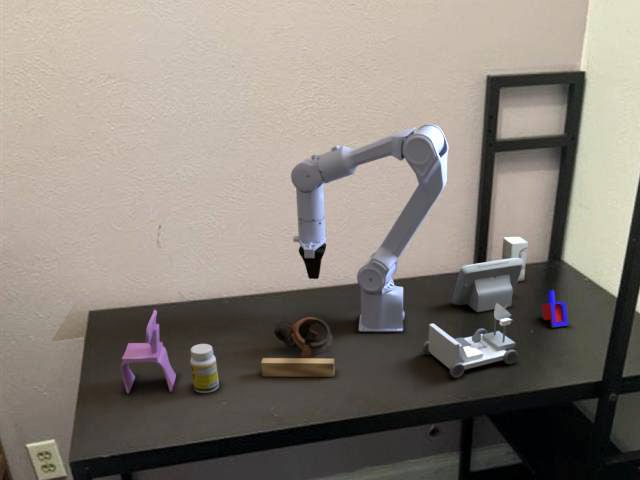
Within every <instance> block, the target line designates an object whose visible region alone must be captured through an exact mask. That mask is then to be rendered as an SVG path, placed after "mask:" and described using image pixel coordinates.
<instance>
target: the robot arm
mask: <svg viewBox="0 0 640 480" xmlns="http://www.w3.org/2000/svg"><path fill="white" fill-rule="evenodd" d="M417 128H418V126H415V127H410V128H407V129H403V130H399V131H396V132H394V133H392V134H389V135H387V136H384V137H381V138H379V139H376V140H373V141H372V142H369V143H366V144H364V145H362V146H359V147H357V148H354V149H353V148H350V147H348V146H346V145H343V146H340V145H339V144H336V145H334V146H332V147H331V148H330V149H331V150H328V151H327V152H324V153H321V154H318V153H313V154H312V155H311V156H310V157H308V158H305V159H303V160H302V161H301V162H299V163H298V164H296V165H295V166H294V167H293V168H292V170H291V173H290V179H291V183H292V184H293V186H294V188H295V193H296V212H297V214H296V215H297V231H298V233H297V234H298V235H294V236H293V238H292V240H293V243H298V244H299V245H300V246H299V247H298V253H299V256H300V258H301V259H302V261H303V263H304V266H305V270H306V274H307V277H308V279H309V280H319V278H320V274H321V267H322V260H323V257H324V255H325V254H326V248H327V243H326V242H327V235H326V216H325V215H326V214H325V212H326V211H325V192H324V184H330V183H332V182H335V181H338V180H340V179H343V178H347V177H350V176H352V175H354V174H355V173H356V172H357V170H358V169H357V168H358V167H359V166H360V165H364V164H367V163H372V162H374V161H377V160H381V159H384V158H388V157H393V158H395V159H397V160H398V161H403V160H405V161H406V162H407V164H408V165H409V167H410V168H411V170H412V171H413V172H414V174H415V177H416V179H417V183H418V185H417V187H416V188H415V189H414V191H413V193H412V194H411V196H410V198H409V199H408V201H407V203H406V204H405V206H404V208H403V209H402V211H401V212H400V214H399V216H398V217H397V219H396V220H395V222H394V223H393V225H392V226H391V228H390V230H389V232H388V233H387V235H386V237H385V238H384V240H383V241H382V243H381V244H380V246H379V247H378V249H377V250H376V251H375V252H373V253H372V255H371V256H370V257H369V259H368V260H367V261H366V262H365V263H364V264H363V265H362V266H361V267H360V268H359V269H358V271H357V274H356V281H357V284H358V285H359V287H360V315H359V320H358V321H359V322H358V332H359V333H402V332H403V331H404V320H405V310H404V287H403V286H400V285H399V286H398V285H395V282H394V279H393V276H394V275H395V274H396V272H397V270H398V263H399V259H400V258H401V256H402V254H403V253H404V250H405V249H406V247H407V246H408V245H409V243H410V241H411V240H412V238H413V237H414V235H415V234H416V232H417V230H418V229H419V227H420V226H421V225H422V223H423V221H424V220H425V218H426V217H427V216H428V214H429V212H430V210H431V209H432V207H433V206H434V204H435V203H436V201H437V200H438V198H439V196H440V195H441V194H442V192H443V190H444V189H445V188H446V185H447V181H448V153H449V147H450V146H449V144H448V140H447V138H446V136H445V133H444V131H443V130H442V129H441V128H440V127H439V126H438V125H436V124H433V123H426V124H423V125H421V126H420V127H419V128H418V129H417Z"/></svg>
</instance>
